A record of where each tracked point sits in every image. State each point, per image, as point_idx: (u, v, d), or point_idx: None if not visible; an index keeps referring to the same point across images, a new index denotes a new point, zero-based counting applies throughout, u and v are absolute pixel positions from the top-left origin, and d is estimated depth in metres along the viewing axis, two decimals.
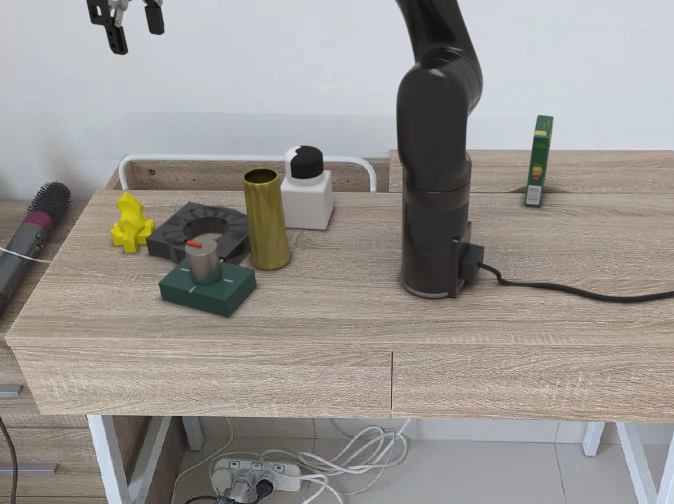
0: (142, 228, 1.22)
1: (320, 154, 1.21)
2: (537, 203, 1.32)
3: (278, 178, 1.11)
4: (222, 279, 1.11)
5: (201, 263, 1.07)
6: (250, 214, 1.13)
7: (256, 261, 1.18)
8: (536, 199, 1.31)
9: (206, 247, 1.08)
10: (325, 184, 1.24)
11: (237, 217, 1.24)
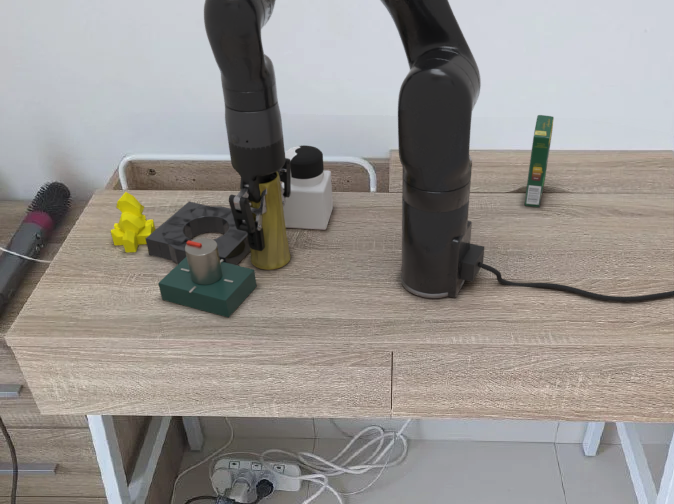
0: (142, 228, 1.22)
1: (320, 154, 1.21)
2: (537, 203, 1.32)
3: (278, 178, 1.11)
4: (222, 279, 1.11)
5: (201, 263, 1.07)
6: None
7: (256, 261, 1.18)
8: (536, 199, 1.31)
9: (206, 247, 1.08)
10: (325, 184, 1.24)
11: None
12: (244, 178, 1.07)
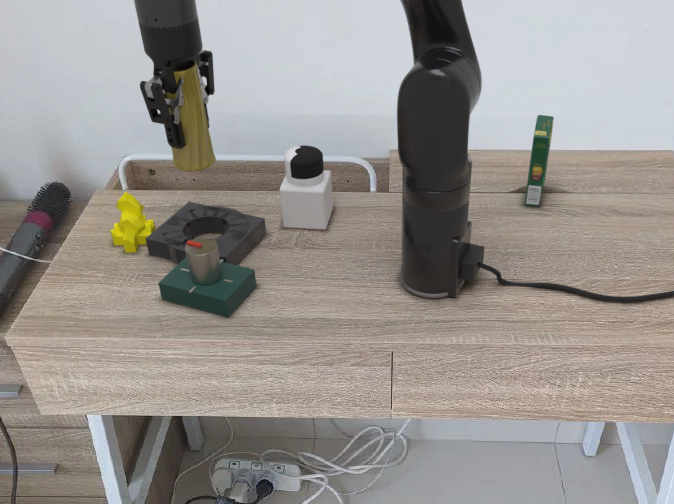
0: (142, 228, 1.22)
1: (320, 154, 1.21)
2: (537, 203, 1.32)
3: (195, 67, 1.04)
4: (222, 279, 1.11)
5: (201, 263, 1.07)
6: None
7: (178, 162, 1.11)
8: (536, 199, 1.31)
9: (206, 247, 1.08)
10: (325, 184, 1.24)
11: (237, 217, 1.24)
12: (157, 63, 1.01)
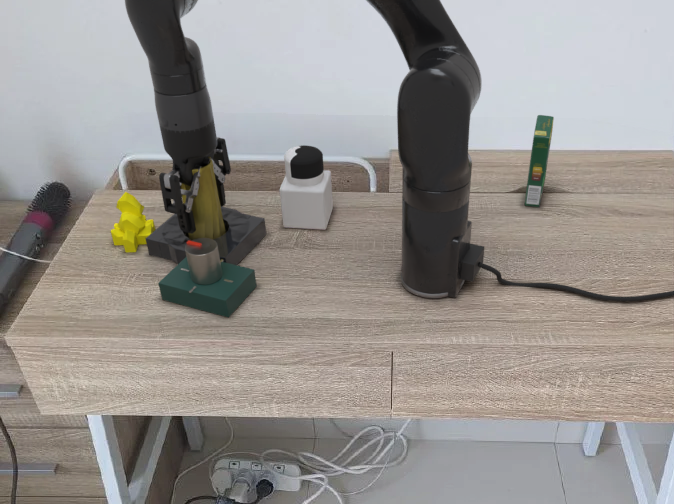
0: (142, 228, 1.22)
1: (320, 154, 1.21)
2: (537, 203, 1.32)
3: (211, 164, 1.14)
4: (222, 279, 1.11)
5: (201, 263, 1.07)
6: (185, 199, 1.16)
7: None
8: (536, 199, 1.31)
9: (206, 247, 1.08)
10: (325, 184, 1.24)
11: (237, 217, 1.24)
12: (176, 161, 1.10)
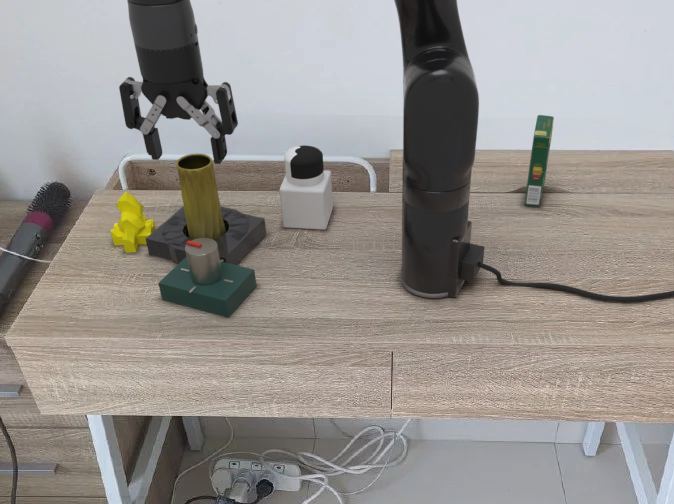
0: (142, 228, 1.22)
1: (320, 154, 1.21)
2: (537, 203, 1.32)
3: (211, 164, 1.14)
4: (222, 279, 1.11)
5: (201, 263, 1.07)
6: (185, 199, 1.16)
7: None
8: (537, 199, 1.31)
9: (206, 247, 1.08)
10: (325, 184, 1.24)
11: (237, 217, 1.24)
12: None
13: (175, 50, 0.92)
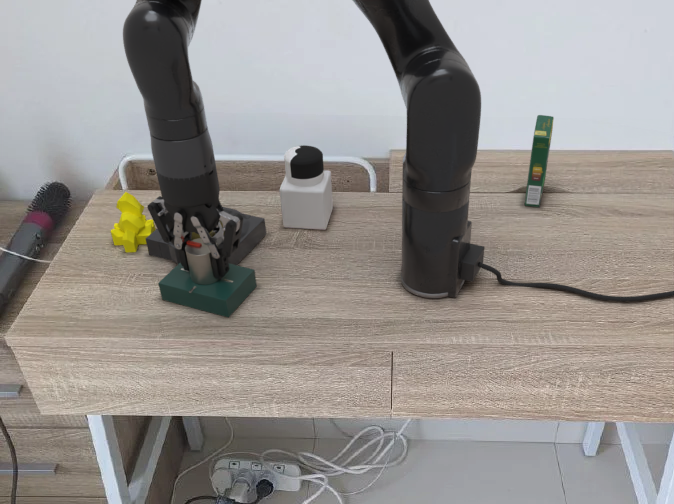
0: (142, 228, 1.22)
1: (320, 154, 1.21)
2: (537, 203, 1.32)
3: None
4: (222, 279, 1.11)
5: (201, 263, 1.07)
6: None
7: None
8: (537, 199, 1.31)
9: (206, 247, 1.08)
10: (325, 184, 1.24)
11: None
12: None
13: (187, 179, 0.97)
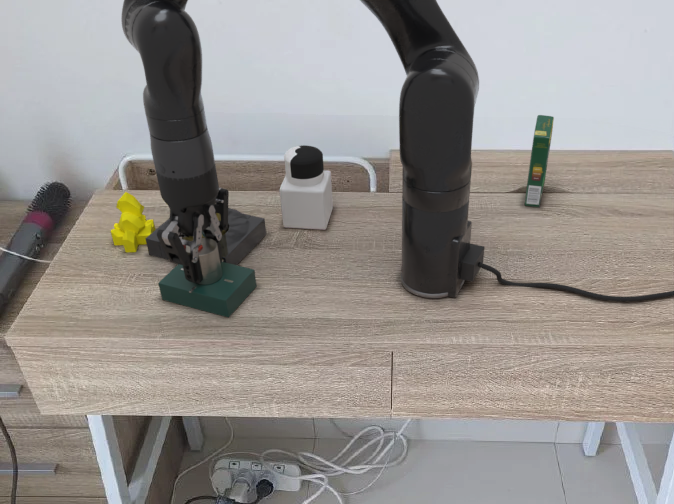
0: (142, 228, 1.22)
1: (320, 154, 1.21)
2: (537, 203, 1.32)
3: None
4: (222, 279, 1.11)
5: (218, 253, 1.09)
6: None
7: None
8: (537, 199, 1.31)
9: (204, 243, 1.09)
10: (325, 184, 1.24)
11: (237, 217, 1.24)
12: (173, 209, 1.01)
13: None
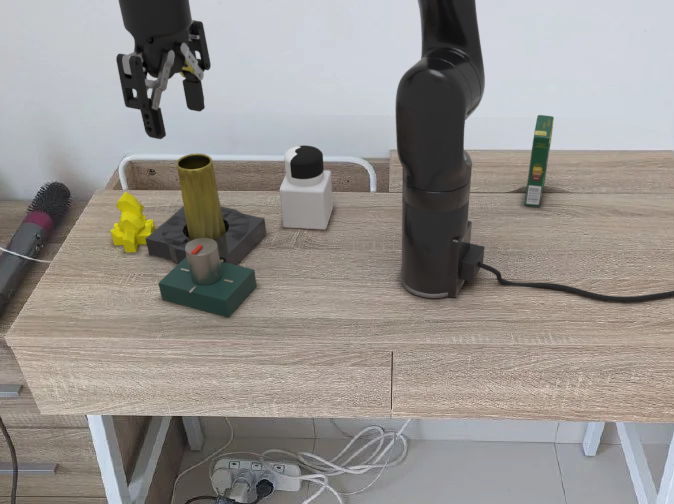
0: (142, 228, 1.22)
1: (320, 154, 1.21)
2: (537, 203, 1.32)
3: (211, 164, 1.14)
4: (222, 279, 1.11)
5: (218, 253, 1.09)
6: (185, 199, 1.16)
7: None
8: (537, 199, 1.31)
9: (204, 243, 1.09)
10: (325, 184, 1.24)
11: (237, 217, 1.24)
12: (138, 40, 0.86)
13: None
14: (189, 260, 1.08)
